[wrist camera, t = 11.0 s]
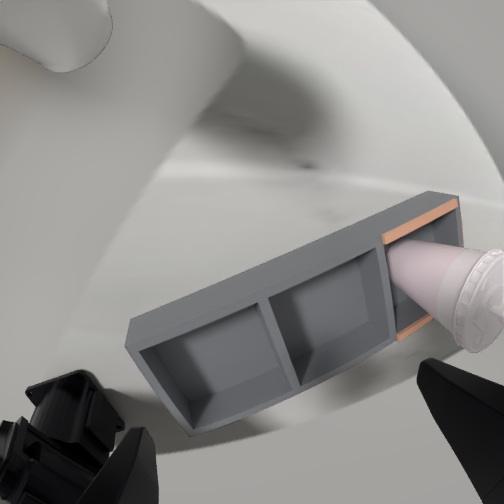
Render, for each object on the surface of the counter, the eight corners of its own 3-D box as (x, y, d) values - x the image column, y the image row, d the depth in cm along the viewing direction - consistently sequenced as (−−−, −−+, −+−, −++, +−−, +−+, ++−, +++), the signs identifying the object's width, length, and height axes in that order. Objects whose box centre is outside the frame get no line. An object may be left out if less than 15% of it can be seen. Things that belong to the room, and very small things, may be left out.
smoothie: (367, 230, 22) (539, 301, 9) (428, 213, 23) (578, 259, 10) (371, 309, 24) (504, 409, 10) (428, 285, 25) (554, 354, 12)
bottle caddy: (185, 406, 22) (190, 440, 19) (130, 319, 20) (124, 349, 16) (441, 278, 26) (469, 291, 22) (431, 189, 23) (464, 195, 19)
